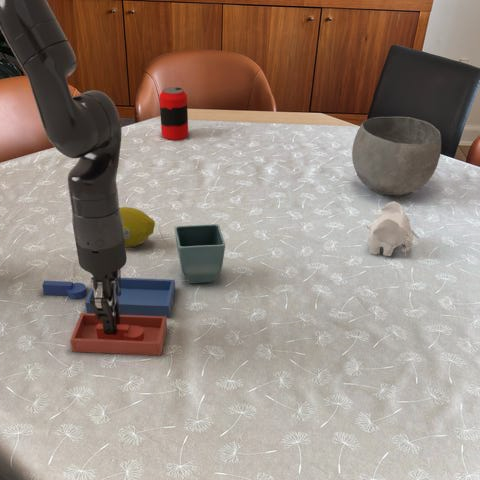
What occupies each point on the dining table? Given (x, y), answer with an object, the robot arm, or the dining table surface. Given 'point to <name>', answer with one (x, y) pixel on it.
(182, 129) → the soda can
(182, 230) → the flower pot
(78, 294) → the blue spoon
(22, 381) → the dining table surface
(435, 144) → the bowl
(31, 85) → the robot arm
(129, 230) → the lemon
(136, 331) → the red spoon
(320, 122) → the dining table surface
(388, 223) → the elephant figurine
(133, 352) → the red tray
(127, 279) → the blue tray
